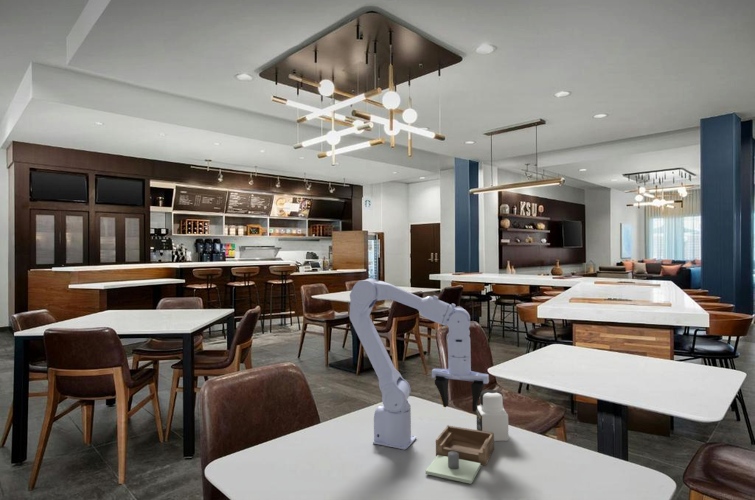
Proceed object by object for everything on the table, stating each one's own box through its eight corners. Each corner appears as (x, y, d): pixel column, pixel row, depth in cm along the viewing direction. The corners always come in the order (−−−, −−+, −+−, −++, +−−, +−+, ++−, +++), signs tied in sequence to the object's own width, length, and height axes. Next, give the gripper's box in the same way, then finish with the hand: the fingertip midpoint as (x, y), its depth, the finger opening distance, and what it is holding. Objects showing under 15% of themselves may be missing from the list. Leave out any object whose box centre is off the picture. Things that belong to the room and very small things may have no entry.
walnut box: (447, 440, 117) (447, 425, 117) (493, 449, 112) (493, 432, 112) (435, 456, 108) (435, 439, 108) (485, 466, 103) (484, 448, 103)
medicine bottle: (476, 430, 124) (475, 387, 124) (502, 430, 124) (501, 387, 124) (481, 441, 117) (480, 396, 117) (509, 441, 116) (508, 395, 117)
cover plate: (437, 457, 107) (437, 442, 107) (480, 466, 102) (480, 450, 102) (425, 473, 99) (425, 457, 99) (471, 483, 95) (471, 466, 95)
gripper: (427, 355, 113) (428, 408, 113) (484, 361, 107) (485, 417, 107) (436, 350, 120) (436, 400, 120) (490, 355, 113) (491, 408, 113)
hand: (460, 408), depth 114 cm, fingers open, 7 cm apart
